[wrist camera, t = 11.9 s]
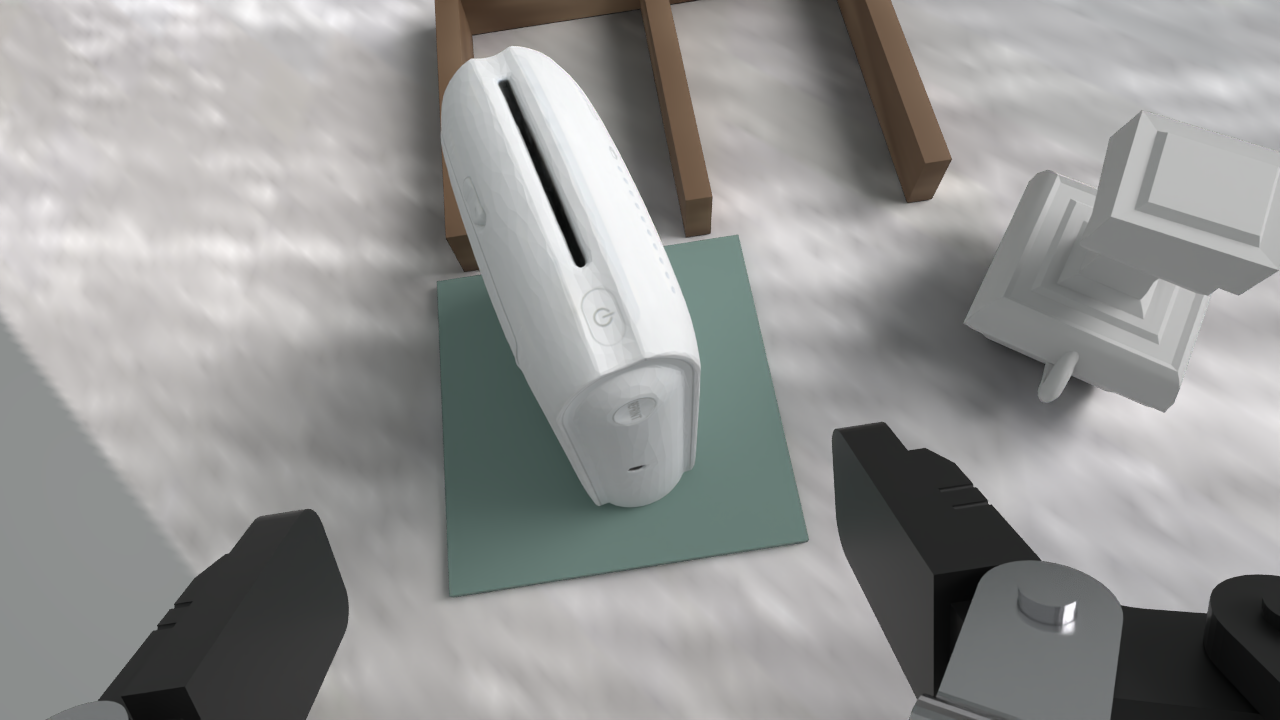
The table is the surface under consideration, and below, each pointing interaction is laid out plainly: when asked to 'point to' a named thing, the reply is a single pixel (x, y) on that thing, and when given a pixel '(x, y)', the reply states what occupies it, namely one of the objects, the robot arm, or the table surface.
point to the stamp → (1132, 258)
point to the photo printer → (574, 273)
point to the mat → (545, 480)
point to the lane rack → (876, 35)
